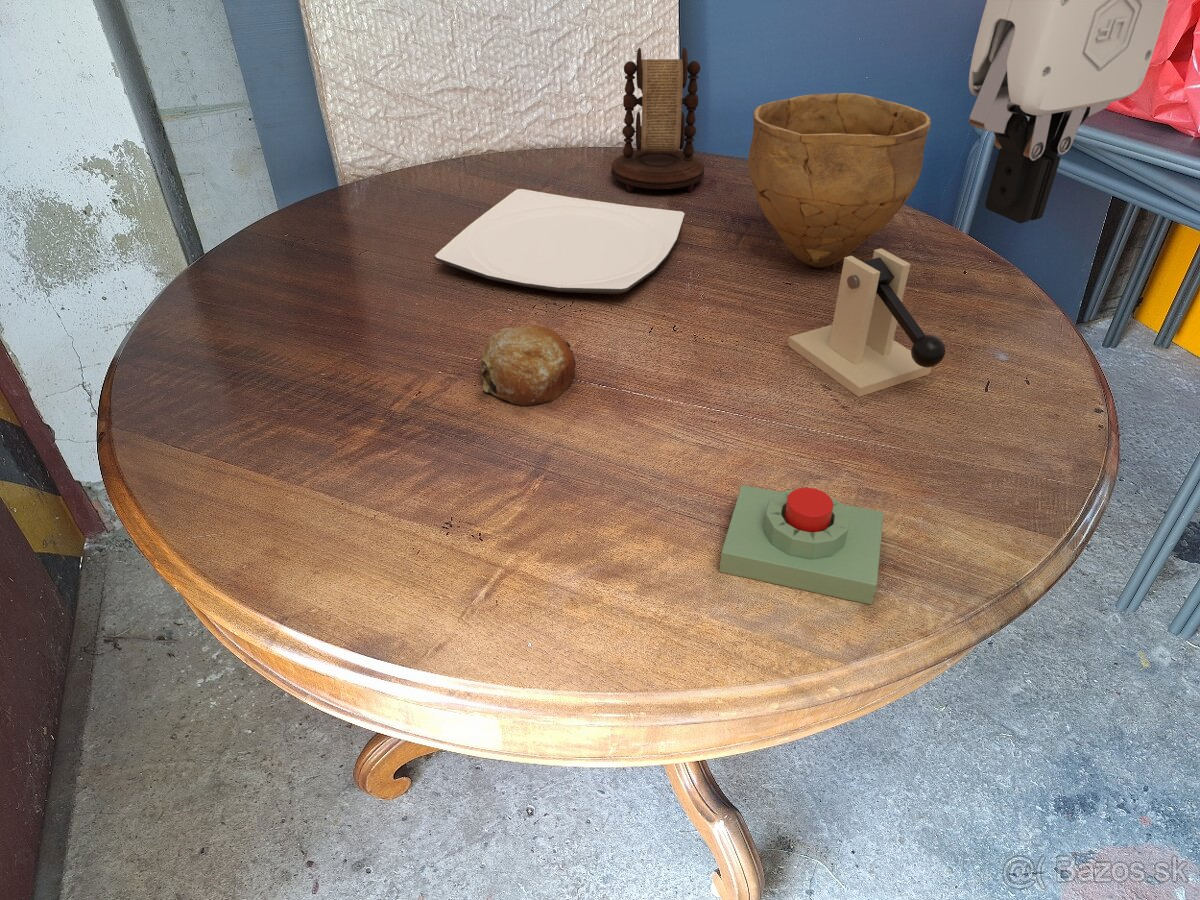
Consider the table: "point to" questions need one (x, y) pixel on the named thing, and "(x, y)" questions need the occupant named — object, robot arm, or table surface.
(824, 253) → the bowl
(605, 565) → the table surface
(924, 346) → the black ball knob lever
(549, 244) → the plate
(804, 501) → the button
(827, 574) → the button block
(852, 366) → the lever bracket
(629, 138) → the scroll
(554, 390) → the bread roll
